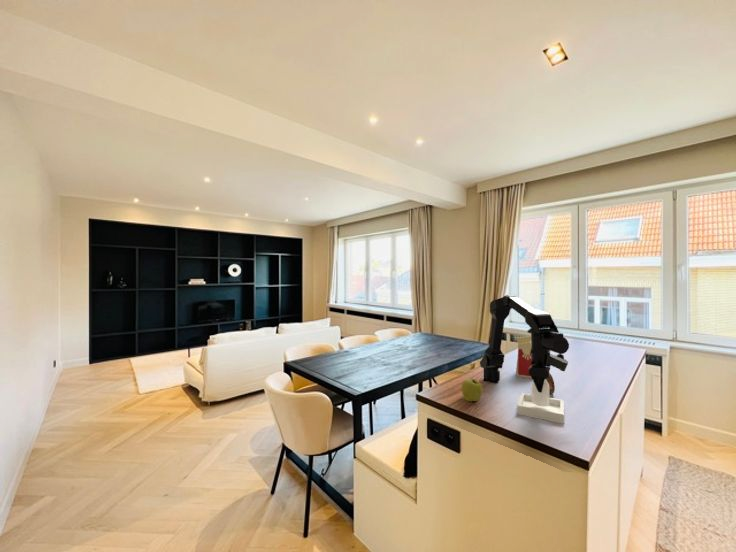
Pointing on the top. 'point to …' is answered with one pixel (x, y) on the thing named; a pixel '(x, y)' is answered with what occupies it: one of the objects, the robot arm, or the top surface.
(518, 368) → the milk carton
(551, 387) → the tin
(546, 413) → the tray
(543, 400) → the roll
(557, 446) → the top surface
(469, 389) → the apple
